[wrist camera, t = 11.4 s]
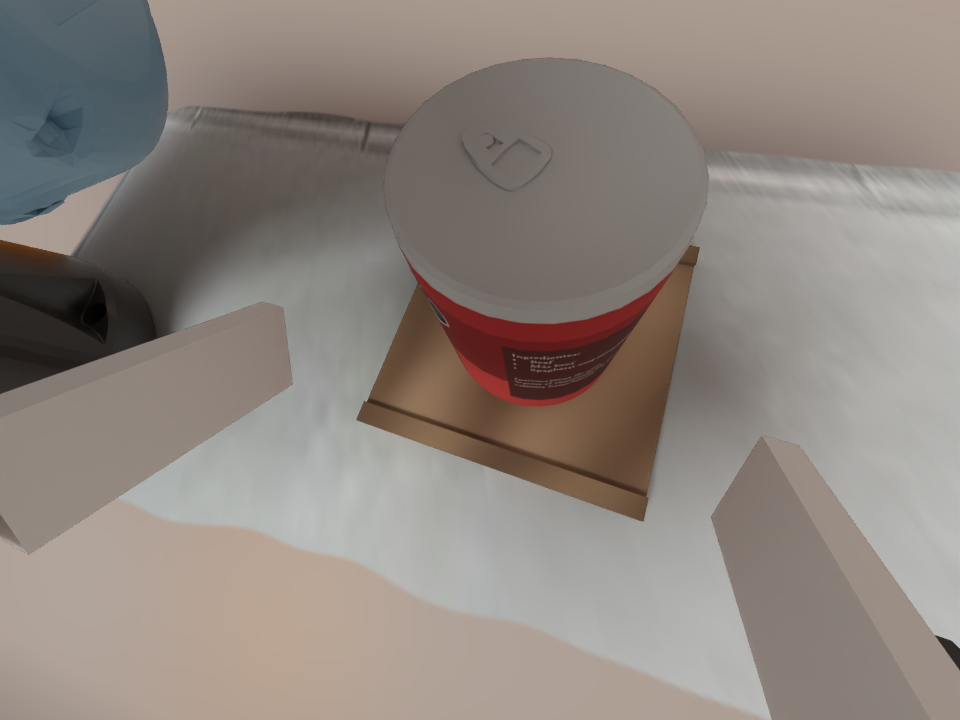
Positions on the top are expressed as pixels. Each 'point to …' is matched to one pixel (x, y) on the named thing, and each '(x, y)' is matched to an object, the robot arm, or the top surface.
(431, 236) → the canned food
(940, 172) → the top surface
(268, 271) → the top surface
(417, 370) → the trivet
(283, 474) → the top surface
